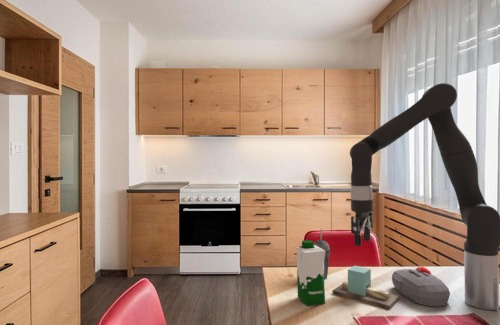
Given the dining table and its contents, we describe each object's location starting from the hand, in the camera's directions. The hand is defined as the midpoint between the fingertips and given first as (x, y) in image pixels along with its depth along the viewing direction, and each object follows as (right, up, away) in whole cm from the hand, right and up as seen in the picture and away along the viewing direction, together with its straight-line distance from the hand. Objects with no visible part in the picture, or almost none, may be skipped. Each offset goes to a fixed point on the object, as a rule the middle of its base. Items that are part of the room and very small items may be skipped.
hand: (362, 243), depth 116 cm
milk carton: (-19, -19, -5) cm, 28 cm away
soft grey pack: (+20, -19, -2) cm, 27 cm away
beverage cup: (-11, -19, +17) cm, 28 cm away
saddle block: (-1, -17, -1) cm, 17 cm away
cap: (+28, -18, +11) cm, 35 cm away
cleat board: (0, -18, -2) cm, 18 cm away
